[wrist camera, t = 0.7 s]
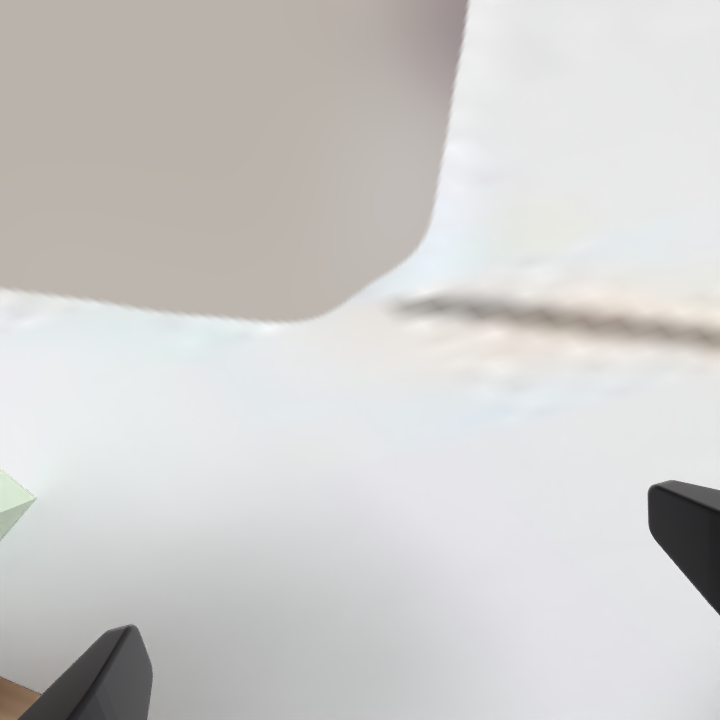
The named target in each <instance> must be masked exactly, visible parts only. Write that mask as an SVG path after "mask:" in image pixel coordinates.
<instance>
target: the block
mask: <svg viewBox="0 0 720 720" xmlns="http://www.w3.org/2000/svg"><path fill="white" fill-rule="evenodd" d="M35 499H36V497H35V496H34V495H33V494H31V493H30V492H29V491H28V490H26V489H25V488H24V487H23V486H22V485H20V484H19V483H18V482H17V481H15V480H14V479H13V478H12V477H10V476H9V475H8V474H7V473H6V472H4V471H3V470H2V469H1V468H0V540H1V539H2V538H3V537H4V536H5V534H6V533H7V532H8V531H9V530H10V529H11V527H12V526H13V525H14V524H15V523H16V522H17V520H18V519H19V518H20V517H21V516H22V515H23V513H24V512H25V511H26V510H27V509H28V508H29V506H30V505H31V504H32V503H33V502H34V501H35Z"/></svg>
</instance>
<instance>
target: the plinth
mask: <svg viewBox="0 0 720 720" xmlns="http://www.w3.org/2000/svg"><path fill="white" fill-rule="evenodd" d="M40 696H41V695H40V694H38V693H36V692H33V691H31V690H29V689H27V688H24V687H22V686H20V685H17V684H15V683H13V682H10V681H8V680H6V679H3V678H1V677H0V720H17V719H18V718H19V717H20V716H21V715H22V714H23V713H24V712H25V711H26V710H27V709H28V708H29V707H30V706H31V705H32V704H33V703H34V702H35V701H36V700H37V699H38V698H39V697H40Z"/></svg>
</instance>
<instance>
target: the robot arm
mask: <svg viewBox="0 0 720 720" xmlns="http://www.w3.org/2000/svg"><path fill="white" fill-rule="evenodd" d="M648 524H649V529H650V532H651V534H652V536H653V537H654V539H655V540H656V542H657V543H658V544H659V545H660V546H661V547H662V549H663V550H664V551H665V552H666V553H667V555H668V556H669V557H670V558H671V559H672V560H673V562H674V563H675V564H676V565H677V566H678V567H679V569H680V570H681V571H682V572H683V573H684V575H685V576H686V577H687V578H688V579H689V580H690V582H691V583H692V584H693V585H694V586H695V587H696V589H697V590H698V591H699V592H700V593H701V594H702V596H703V597H704V598H705V599H706V600H707V602H708V603H709V604H710V605H711V606H712V607H713V608H714V609H715V611H716V612H717V613H718V614H719V615H720V490H716V489H711V488H707V487H702V486H698V485H693V484H689V483H684V482H680V481H675V480H669V481H665V482H662V483H658V484H654V485H652V486H651V487H650V488H649V490H648ZM152 678H153V673H152V665H151V662H150V659H149V656H148V654H147V651H146V648H145V645H144V643H143V640H142V637H141V635H140V632H139V630H138V628H137V627H136V626H135V625H132V624H130V625H126V626H122V627H118V628H115V629H111V630H108V631H107V632H105V633H104V634H103V635H102V636H101V637H100V638H99V639H98V640H97V641H96V642H95V643H94V644H93V645H92V646H91V647H90V648H89V649H88V650H87V651H86V652H85V653H84V654H83V655H82V656H81V657H80V658H79V659H78V660H77V661H76V662H75V663H74V664H73V665H71V666H70V667H69V668H68V669H67V670H66V671H65V672H64V673H63V674H62V675H61V676H60V677H59V678H58V679H57V680H56V681H55V682H54V683H53V684H52V685H51V686H50V687H49V688H48V689H47V690H46V691H45V692H44V693H43V694H42V695H41V696H40V697H39V698H38V699H37V700H36V701H35V702H34V703H33V704H32V705H31V706H30V707H29V708H28V709H27V710H26V711H25V712H24V713H23V714H22V715H21V716H20V717H19V718H18V719H17V720H147V717H148V710H149V702H150V695H151V687H152Z"/></svg>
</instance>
